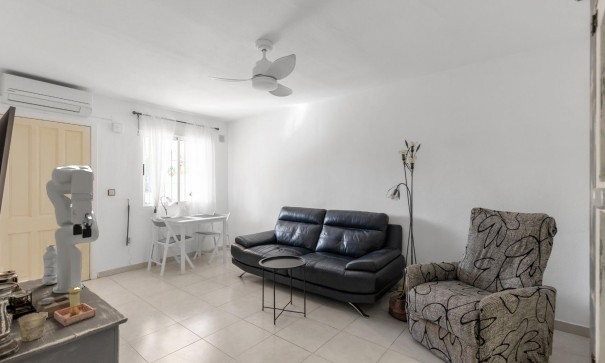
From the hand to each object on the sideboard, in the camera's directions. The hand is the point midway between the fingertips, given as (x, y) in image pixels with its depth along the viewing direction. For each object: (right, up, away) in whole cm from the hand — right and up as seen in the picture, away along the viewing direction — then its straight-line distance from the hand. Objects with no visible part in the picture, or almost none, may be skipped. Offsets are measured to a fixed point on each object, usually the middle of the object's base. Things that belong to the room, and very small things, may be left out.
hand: (82, 236), depth 124 cm
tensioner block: (-6, -30, -5) cm, 31 cm away
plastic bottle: (-34, -30, +23) cm, 51 cm away
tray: (+5, -31, -10) cm, 33 cm away
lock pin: (+5, -30, -10) cm, 32 cm away
